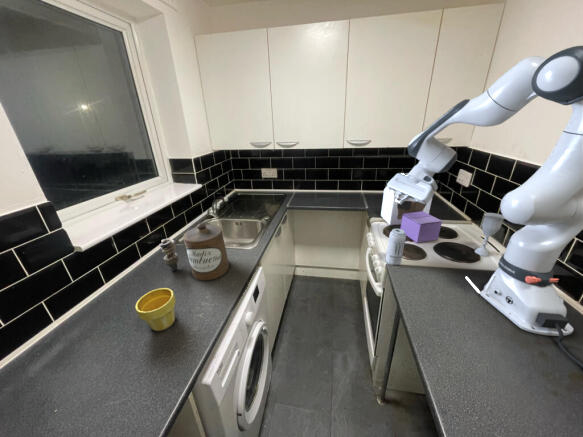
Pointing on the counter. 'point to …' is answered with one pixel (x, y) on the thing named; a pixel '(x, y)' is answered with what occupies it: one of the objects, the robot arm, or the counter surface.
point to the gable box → (395, 214)
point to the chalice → (489, 229)
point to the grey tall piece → (169, 253)
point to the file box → (420, 227)
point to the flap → (426, 220)
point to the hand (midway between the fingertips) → (397, 202)
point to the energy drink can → (395, 246)
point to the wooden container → (206, 251)
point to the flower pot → (157, 308)
